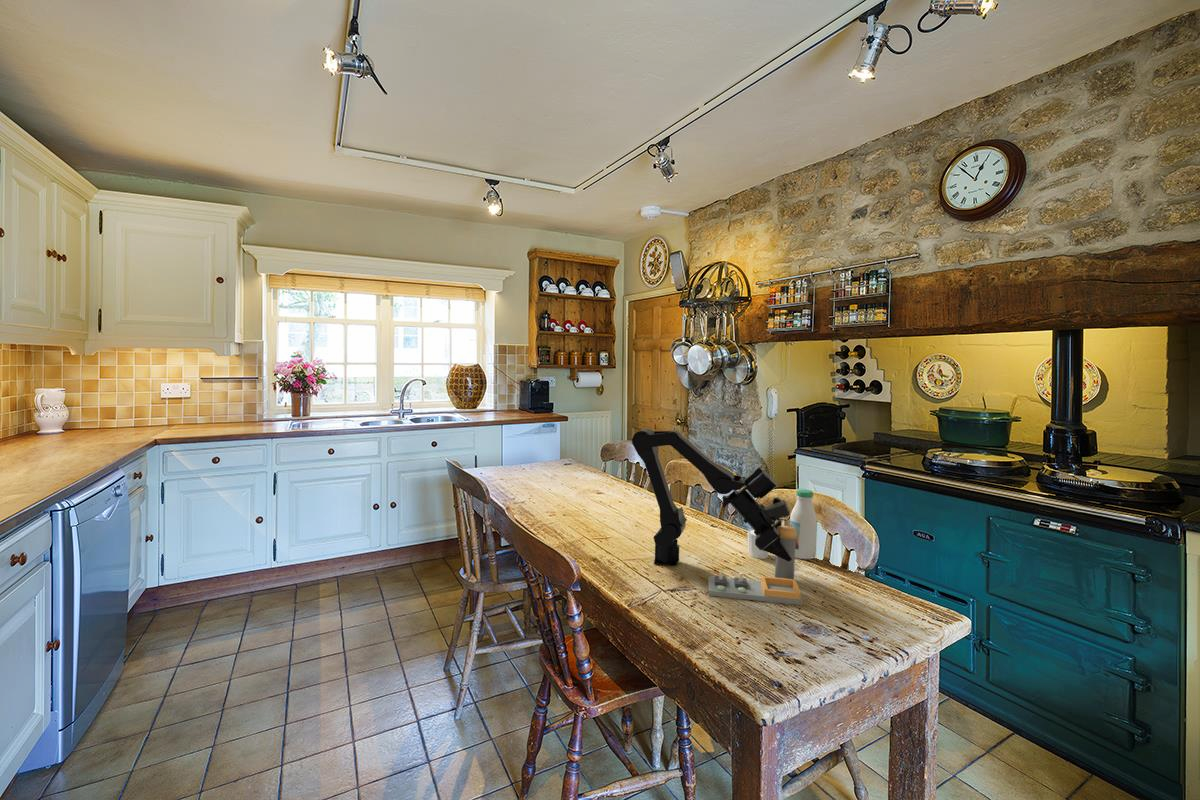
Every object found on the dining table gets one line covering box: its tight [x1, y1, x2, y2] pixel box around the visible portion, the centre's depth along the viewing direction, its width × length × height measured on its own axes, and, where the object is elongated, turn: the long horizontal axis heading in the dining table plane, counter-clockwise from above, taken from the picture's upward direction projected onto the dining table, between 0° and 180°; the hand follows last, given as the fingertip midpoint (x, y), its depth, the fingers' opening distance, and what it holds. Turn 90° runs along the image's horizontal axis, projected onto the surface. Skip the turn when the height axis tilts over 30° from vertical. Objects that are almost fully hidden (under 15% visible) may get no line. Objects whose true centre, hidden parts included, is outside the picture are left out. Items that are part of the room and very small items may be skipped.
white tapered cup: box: [746, 528, 770, 560], centre depth 155 cm, size 7×7×7 cm
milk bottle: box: [789, 488, 818, 560], centre depth 155 cm, size 8×8×20 cm
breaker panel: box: [707, 570, 803, 606], centre depth 129 cm, size 22×9×4 cm, turn 79°
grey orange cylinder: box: [774, 525, 796, 580], centre depth 137 cm, size 5×5×14 cm
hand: (790, 554), depth 136 cm, fingers open, 9 cm apart
